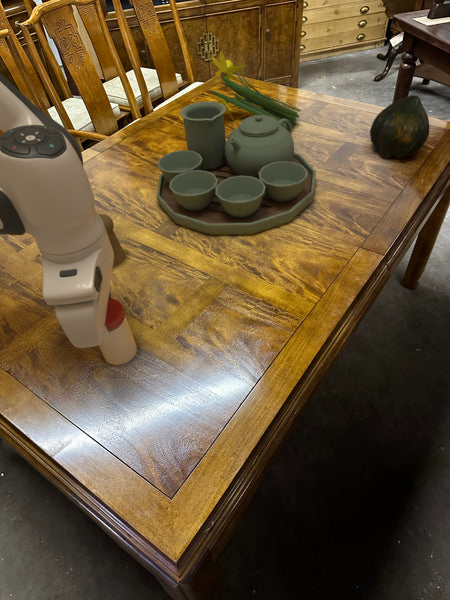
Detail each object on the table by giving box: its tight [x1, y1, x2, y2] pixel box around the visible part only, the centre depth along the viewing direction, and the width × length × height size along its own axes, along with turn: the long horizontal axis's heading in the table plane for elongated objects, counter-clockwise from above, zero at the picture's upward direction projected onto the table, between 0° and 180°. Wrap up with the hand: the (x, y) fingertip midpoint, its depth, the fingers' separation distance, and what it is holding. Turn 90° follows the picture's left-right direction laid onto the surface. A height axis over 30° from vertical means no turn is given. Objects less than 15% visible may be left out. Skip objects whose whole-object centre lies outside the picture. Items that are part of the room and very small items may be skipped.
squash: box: [369, 94, 430, 159], centre depth 111 cm, size 14×15×15 cm
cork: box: [98, 213, 127, 268], centre depth 87 cm, size 6×6×11 cm
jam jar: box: [98, 315, 138, 366], centre depth 70 cm, size 6×6×10 cm
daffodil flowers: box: [205, 50, 301, 130], centre depth 132 cm, size 17×15×35 cm
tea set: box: [156, 100, 317, 236], centre depth 101 cm, size 40×40×16 cm
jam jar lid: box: [105, 298, 127, 331], centre depth 66 cm, size 6×6×2 cm
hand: (106, 318), depth 67 cm, fingers closed on jam jar lid, 6 cm apart
